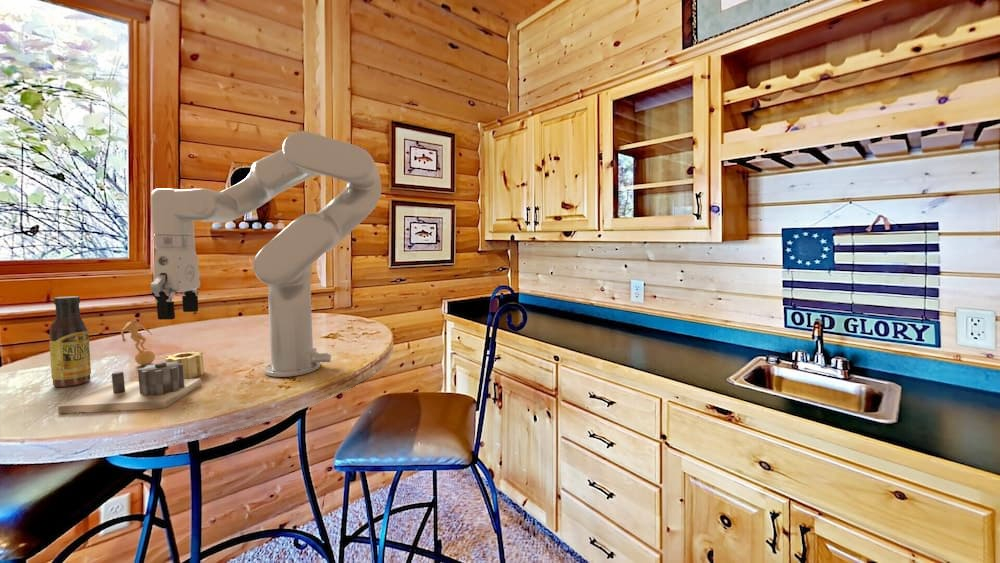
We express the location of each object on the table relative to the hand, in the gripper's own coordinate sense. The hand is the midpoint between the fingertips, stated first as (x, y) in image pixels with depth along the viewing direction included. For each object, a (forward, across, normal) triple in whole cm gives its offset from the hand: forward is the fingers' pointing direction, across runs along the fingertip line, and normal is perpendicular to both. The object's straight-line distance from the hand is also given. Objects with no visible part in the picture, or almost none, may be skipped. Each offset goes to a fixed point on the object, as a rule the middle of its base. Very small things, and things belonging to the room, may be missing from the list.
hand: (179, 315), depth 99 cm
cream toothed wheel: (+15, 0, -1) cm, 15 cm away
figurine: (+15, +11, +15) cm, 24 cm away
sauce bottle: (+15, -2, +21) cm, 26 cm away
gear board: (+15, -14, +1) cm, 20 cm away
